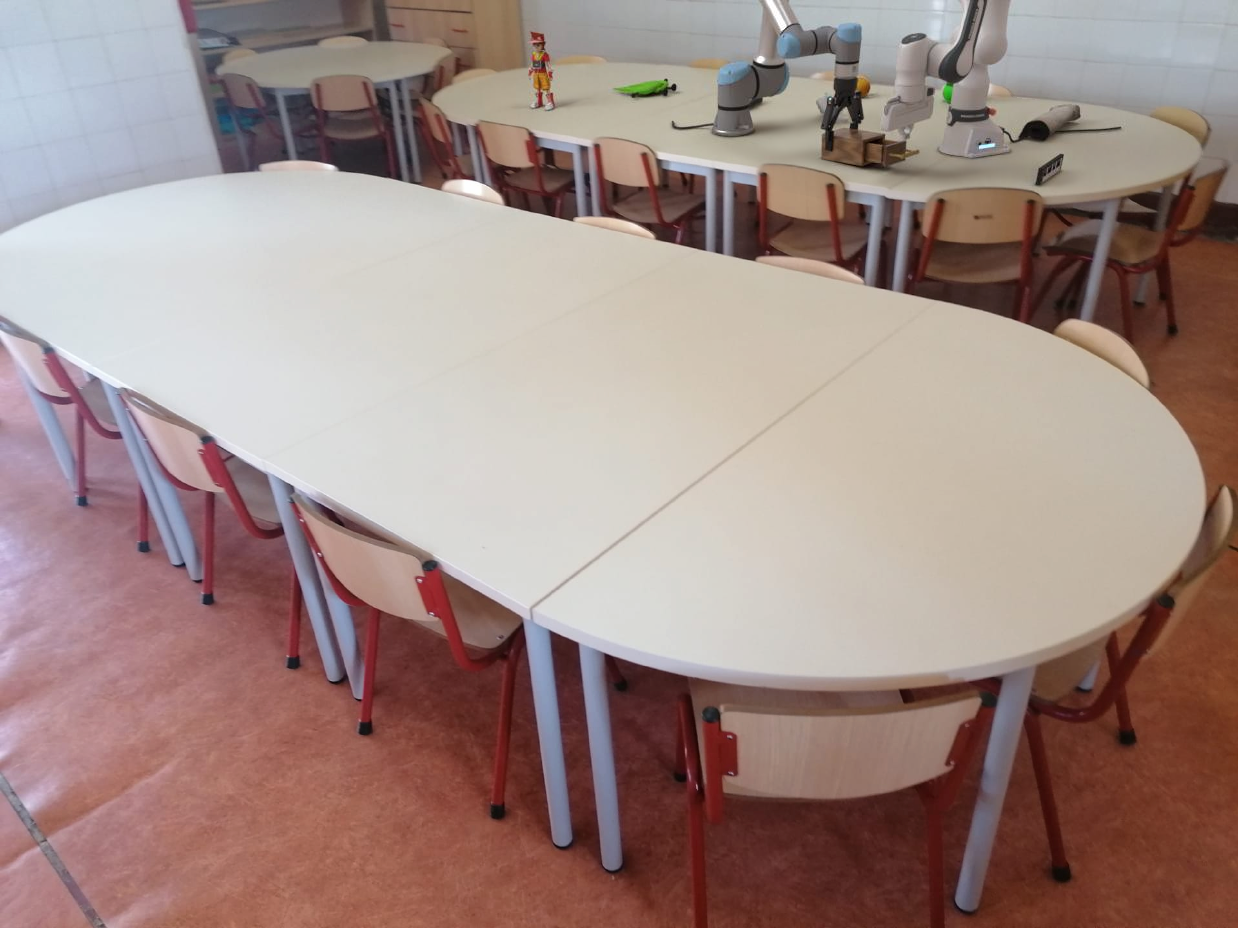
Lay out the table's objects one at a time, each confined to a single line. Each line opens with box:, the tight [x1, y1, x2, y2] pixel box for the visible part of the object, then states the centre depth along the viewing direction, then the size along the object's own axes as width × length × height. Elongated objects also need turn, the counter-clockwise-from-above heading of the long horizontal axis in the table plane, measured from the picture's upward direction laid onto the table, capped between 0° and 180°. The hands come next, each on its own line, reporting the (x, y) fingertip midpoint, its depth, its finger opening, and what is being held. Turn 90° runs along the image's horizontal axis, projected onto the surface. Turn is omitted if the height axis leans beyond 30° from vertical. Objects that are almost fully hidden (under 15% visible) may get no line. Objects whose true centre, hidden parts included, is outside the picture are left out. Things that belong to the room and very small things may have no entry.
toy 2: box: [612, 78, 677, 99], centre depth 396 cm, size 28×5×30 cm
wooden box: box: [820, 127, 886, 167], centre depth 297 cm, size 18×10×8 cm, turn 35°
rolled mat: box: [1017, 103, 1082, 142], centre depth 314 cm, size 30×9×10 cm
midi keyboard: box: [1035, 153, 1065, 186], centre depth 273 cm, size 18×1×5 cm, turn 138°
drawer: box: [864, 138, 921, 167], centre depth 288 cm, size 22×9×6 cm, turn 35°
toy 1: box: [527, 31, 556, 111], centre depth 374 cm, size 12×9×30 cm
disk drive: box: [749, 97, 764, 110], centre depth 367 cm, size 10×3×15 cm
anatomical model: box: [815, 92, 850, 124], centre depth 341 cm, size 15×10×10 cm
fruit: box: [856, 77, 871, 98], centre depth 368 cm, size 8×8×8 cm
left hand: (840, 147), depth 301 cm, fingers closed on wooden box, 11 cm apart
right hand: (904, 139), depth 280 cm, fingers closed
